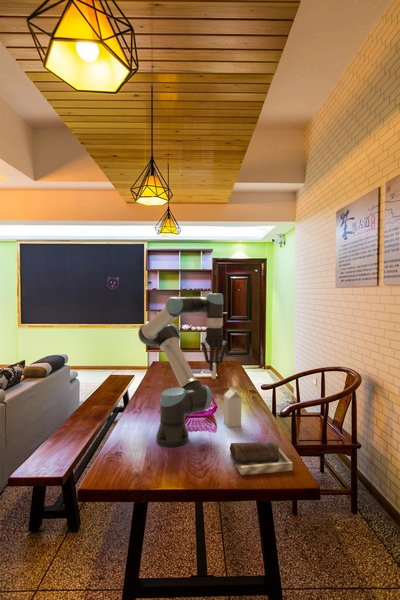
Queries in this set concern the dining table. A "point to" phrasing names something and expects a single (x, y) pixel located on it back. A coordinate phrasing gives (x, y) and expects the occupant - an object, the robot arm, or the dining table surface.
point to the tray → (265, 465)
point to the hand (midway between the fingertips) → (213, 377)
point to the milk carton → (232, 408)
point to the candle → (254, 452)
